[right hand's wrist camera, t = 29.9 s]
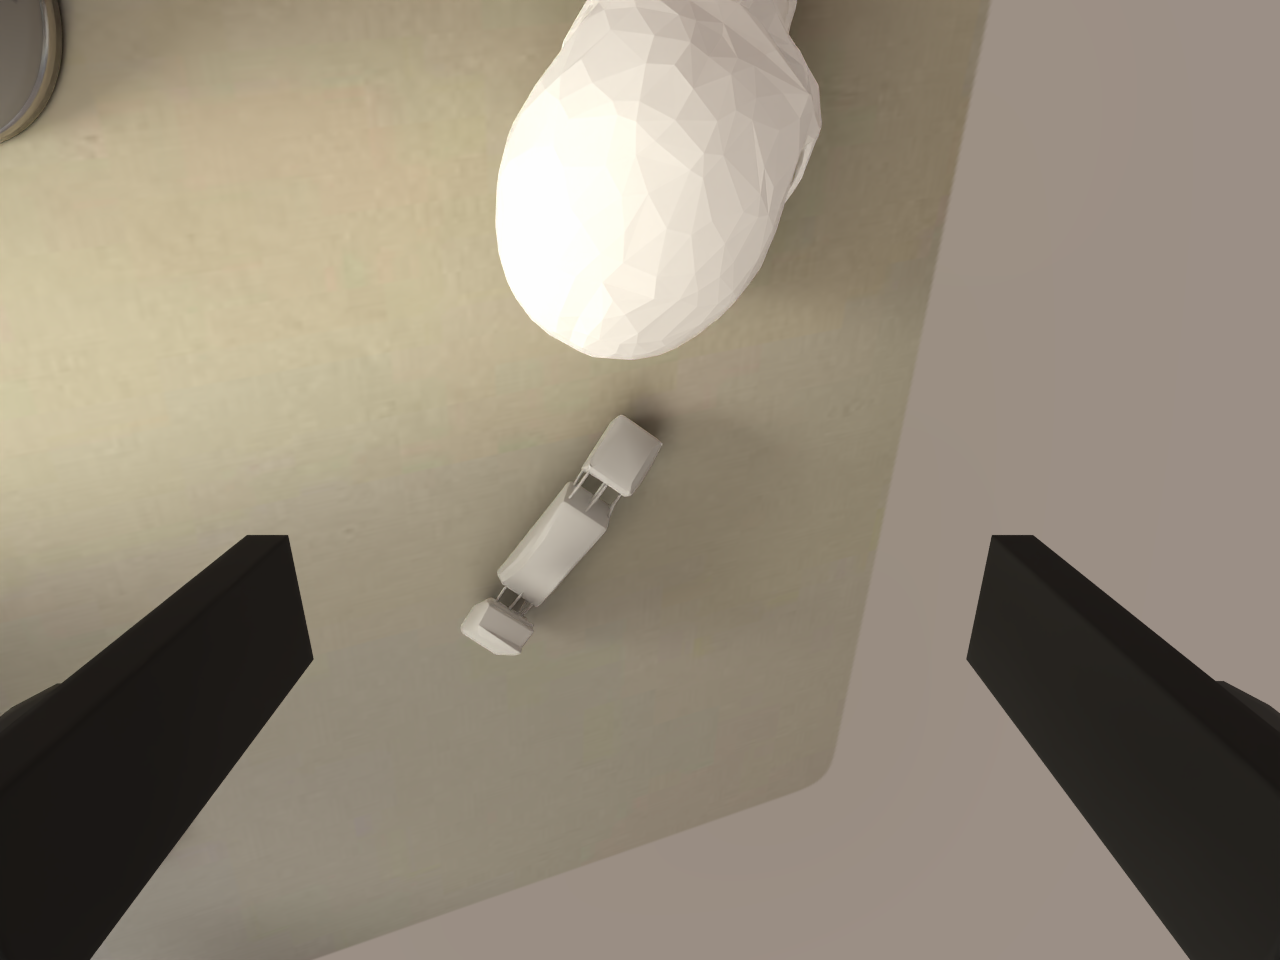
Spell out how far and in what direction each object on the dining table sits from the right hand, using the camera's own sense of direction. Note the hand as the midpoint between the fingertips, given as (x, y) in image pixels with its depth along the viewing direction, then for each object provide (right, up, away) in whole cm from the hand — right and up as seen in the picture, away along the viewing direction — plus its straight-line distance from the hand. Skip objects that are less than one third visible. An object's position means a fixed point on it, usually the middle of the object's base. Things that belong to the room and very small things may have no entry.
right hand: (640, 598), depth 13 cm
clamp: (-6, -1, +36) cm, 36 cm away
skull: (+2, +21, +27) cm, 34 cm away
